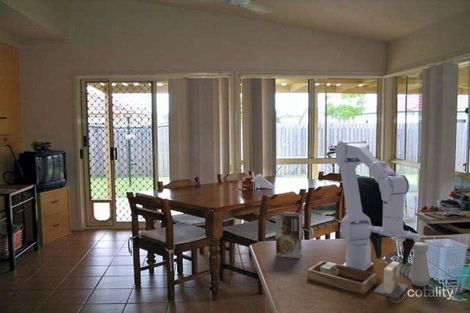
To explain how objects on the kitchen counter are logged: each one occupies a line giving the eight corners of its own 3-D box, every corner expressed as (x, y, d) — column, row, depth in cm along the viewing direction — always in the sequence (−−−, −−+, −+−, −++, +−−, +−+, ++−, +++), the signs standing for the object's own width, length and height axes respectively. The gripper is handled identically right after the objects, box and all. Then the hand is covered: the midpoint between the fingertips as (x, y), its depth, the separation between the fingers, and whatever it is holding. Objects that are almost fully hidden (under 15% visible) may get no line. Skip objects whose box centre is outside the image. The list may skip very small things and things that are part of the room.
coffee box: (302, 253, 151) (302, 212, 150) (299, 258, 145) (299, 216, 144) (278, 250, 154) (278, 210, 152) (275, 256, 148) (275, 214, 146)
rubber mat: (384, 281, 124) (385, 280, 124) (408, 287, 120) (408, 285, 120) (373, 292, 116) (373, 290, 116) (397, 298, 112) (397, 297, 112)
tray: (322, 268, 135) (322, 260, 135) (376, 282, 123) (376, 273, 123) (307, 278, 127) (307, 269, 126) (363, 294, 115) (363, 284, 115)
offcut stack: (328, 272, 133) (329, 260, 132) (338, 274, 130) (339, 263, 130) (319, 279, 127) (319, 267, 127) (329, 281, 125) (329, 269, 125)
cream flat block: (392, 283, 122) (392, 261, 121) (398, 284, 121) (399, 262, 120) (383, 291, 116) (383, 269, 115) (390, 293, 114) (390, 270, 114)
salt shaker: (420, 289, 118) (422, 247, 117) (404, 282, 123) (406, 242, 122) (433, 285, 121) (435, 244, 119) (418, 278, 126) (419, 239, 124)
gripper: (363, 214, 117) (362, 258, 119) (415, 222, 108) (413, 270, 110) (372, 210, 123) (371, 252, 124) (422, 217, 114) (420, 262, 115)
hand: (391, 260), depth 117 cm, fingers open, 7 cm apart
